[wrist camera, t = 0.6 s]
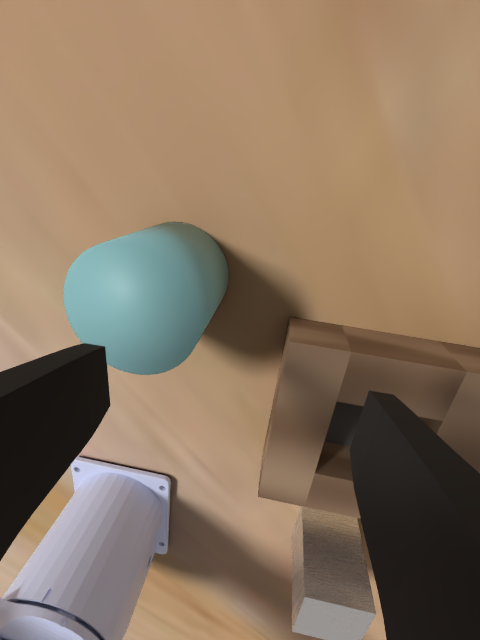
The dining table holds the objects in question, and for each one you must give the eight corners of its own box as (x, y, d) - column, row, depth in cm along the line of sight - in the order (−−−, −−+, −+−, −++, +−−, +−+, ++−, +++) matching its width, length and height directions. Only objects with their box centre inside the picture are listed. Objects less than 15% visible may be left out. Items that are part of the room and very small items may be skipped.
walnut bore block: (422, 491, 21) (441, 536, 19) (261, 458, 22) (257, 496, 20) (495, 350, 17) (534, 383, 14) (289, 317, 18) (289, 341, 15)
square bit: (342, 546, 25) (357, 648, 19) (291, 534, 25) (292, 631, 20) (356, 512, 23) (375, 613, 18) (301, 501, 24) (304, 596, 18)
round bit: (223, 326, 19) (196, 385, 13) (133, 310, 19) (71, 362, 14) (233, 229, 16) (205, 253, 11) (130, 214, 17) (55, 230, 11)
